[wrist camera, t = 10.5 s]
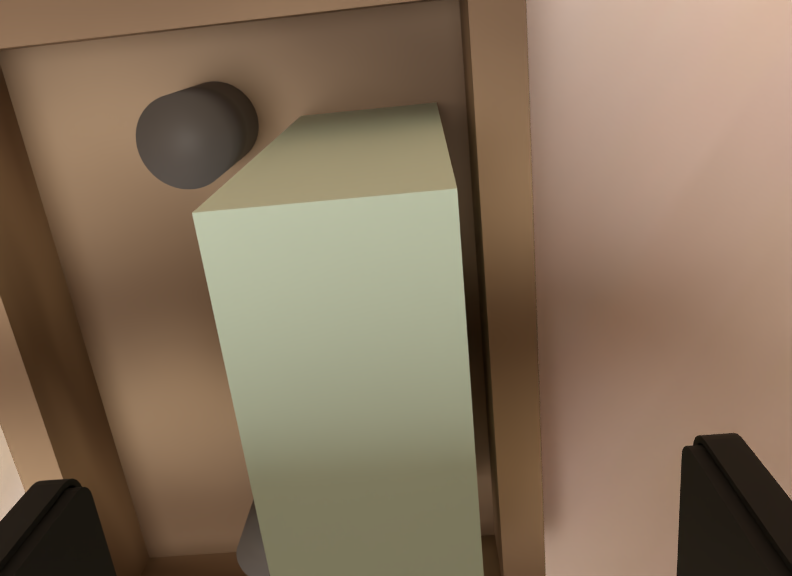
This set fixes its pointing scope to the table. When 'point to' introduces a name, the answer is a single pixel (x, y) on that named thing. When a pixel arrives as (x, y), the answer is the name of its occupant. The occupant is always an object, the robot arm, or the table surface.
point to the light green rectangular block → (349, 345)
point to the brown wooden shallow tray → (181, 259)
